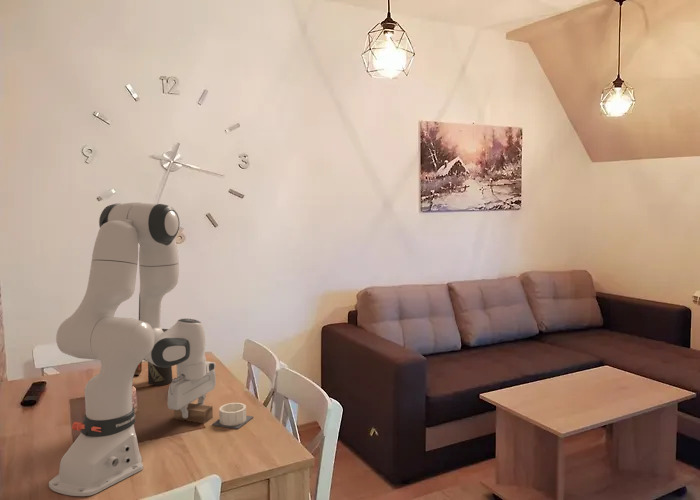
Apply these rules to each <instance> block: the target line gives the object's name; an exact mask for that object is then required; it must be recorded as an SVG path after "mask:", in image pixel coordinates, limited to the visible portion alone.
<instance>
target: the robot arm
mask: <svg viewBox="0 0 700 500" xmlns="http://www.w3.org/2000/svg"><path fill="white" fill-rule="evenodd" d="M98 219H99V220H98V224H99V225H98V226H99V230H98V232H97V235H96V239H95V240H94V241H95V242H94V246H93V250H92V254H91V256H92V257H91V261H90V262H91V263H90V268H89V269H90V270H89V277H88V282H87V287H86V291H85V293H84V296H83V298H82V300H81V302H80V305H79V306H78V307H77V309H76V310H75V311H74V312H73V313H72V315H70V316H69V317H68V318H66V319H64V320H63V321H62V323H60V326H59V327H58V329H57V330H56V331H57V332H56V337H55V340H56V345H57V348H58V349H59V351H60V352H61V353H62V354H65V355H67V356H71V357H74V358H76V359H83V360H84V359H85V360H94V361H100V370H99V373H97V374H96V375H94V376H93V377H91V378H90V379H89V380H88V381H87V383H86V385H85V386H84V405H85V413H84V416H83V420H82V422H79V421H74V422H73V423H72V425H71V428H72V430H73V431H78V432H80V433H79V435H78V437H77V438H76V439H75V441H74V442H73V443H72V444H71V446H70V447H69V448H68V449H67V451H66V452H65V453H64V455H63V456H62V457H61V460H60V462H59V471H58V472H59V473H58V474H57V475H56V476H54V477H53V478H51V480H49V481H48V488H49V489H50V490H51V491H53V492H55V493H58V494H62V495H65V496H71V497H88V496H89V497H90V496H94V495H95V494H97V493H100V492H102V491H103V490H105V489H107V488H109V487H111V486H113V485H115V484H117V483H119V482H121V481H123V480H125V479H127V478H130V477H131V476H133V475H134V474H136V473H139V472H141V471H142V470H144V464H143V461H142V459H143V457H142V455H141V453H140V449H139V443H138V438H137V437H138V436H137V434H136V430H135V423H136V414H135V413H136V412H135V407H134V406H133V381H134V376H135V375H134V373H135V370H136V368H137V366H138V365H139V364H140V362H141V361H142V362H143V361H145V362H147V363H148V362H150V363H152V364H154V365H156V366H158V367H161V368H168V367H171V366H172V367H173V366H176V377H174V378H172V382H171V383H169V387H168V392H167V408H168V409H169V410H172V411H174V410H179V409H180V410H181V412H182V417H183V418H188V417H189V416H190V411H188V410H187V407H188V404H189V403H193V402H195V401H196V400H197V403H196V404H199V405H205V400H206V397H207V395H206V394H208V393H210V392H212V391H213V390H215V388H216V384H217V383H216V381H217V380H216V379H217V378H216V370H215V369H216V366H217V364H216V362H213V361H208V360H207V358H206V355H205V354H206V353H205V351H206V334H205V327H204V325H203V323H202V322H201V321H199V320H198V319H193V318H180V319H178V320H176V323H174V324H173V325H172V326H170V328H167V329H168V330H167V331H165V332H163V330H162V329H163V328H162V327H161V312H162V310H161V308H162V300H163V298H164V297H165V296H166V295H167V294H168V293H170V292H172V291H173V290H174V289H175V288H176V286H177V284H178V283H179V282H178V281H179V278H180V277H179V275H180V264H179V254H178V253H179V250H178V245H177V241H176V236H177V235H178V232H179V230H180V218H179V215H178V212H177V211H176V210H175V208H174V207H173V206H170V205H167V204H162V203H157V204H156V203H155V204H154V203H145V202H126V203H121V202H120V203H119V202H118V203H113V204H109V205H107V206H106V207H104V209H103V210H102V211H101V213H100V215H99V218H98ZM138 269H139V270H138ZM137 271H139V272H137ZM137 273H139V293H138V319H135V318H132V317H118V316H117V317H116V316H115V313H116V312H117V309H118V308H119V306H120V305H122V303H124V302H125V301H127V300H129V299H130V298H131V297H132V296H133V295H134V293H135V290H136V289H135V288H136V280H137Z"/></svg>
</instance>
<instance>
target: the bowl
mask: <svg viewBox="0 0 700 500" xmlns="http://www.w3.org/2000/svg"><path fill="white" fill-rule="evenodd" d="M218 410H219V411H218V415H219V419H220V423H221V424H222V425H227V426H233V425H239V424H242V423H244V422H245V421H246V416H247V405H246V404H244V403H241V402H230V403H229V402H228V403H226V404H223V405H220V406H219V409H218Z"/></svg>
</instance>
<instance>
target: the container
mask: <svg viewBox="0 0 700 500" xmlns="http://www.w3.org/2000/svg"><path fill="white" fill-rule="evenodd" d="M161 329H162V330H163V332H165V331H167V330H168V329H169V328H161ZM172 367H173V366H171V367H168V368H161V367H158V366H156V365H154V364H152V363H150V362H148V361H147V380H148V381H147V382H148V384H149V385H150V386H155V387H156V386H158V387H159V386H165V385H170V384H171V382H172V380H173V368H172Z"/></svg>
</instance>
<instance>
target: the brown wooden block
mask: <svg viewBox="0 0 700 500" xmlns="http://www.w3.org/2000/svg"><path fill="white" fill-rule="evenodd" d="M187 410H188V411H190V416H189V417H188V418H183V417H182V412H181V410H180V409H179V410H173V412H174V413H173V415H174V416H173V417H174V420H178V419H179V420H180V421H184V420H187V421H186V422H191V421H193V422H192V423H197V422H198V424H206V423H208V422H209V421H210V420H212V419H214V413H213V412H214V411H213V410H214V409H213V405H212V406H211V405H206V404H204V405H199V404H197V403H193V402H191V403H189V404H188V407H187ZM179 420H178V421H179Z"/></svg>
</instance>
